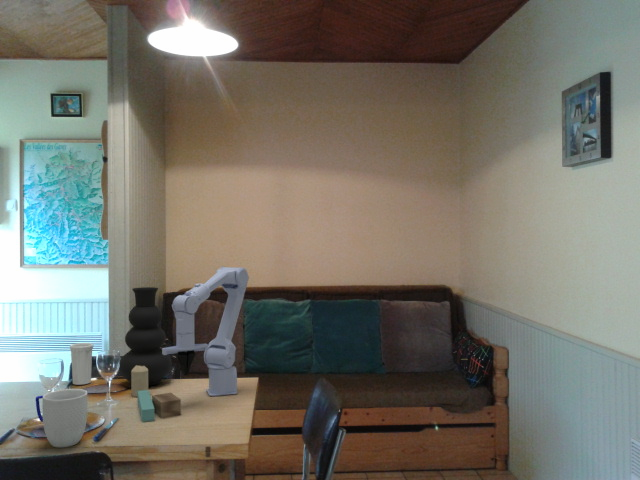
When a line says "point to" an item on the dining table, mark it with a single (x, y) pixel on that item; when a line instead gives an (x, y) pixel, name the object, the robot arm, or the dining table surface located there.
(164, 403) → the block
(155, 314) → the vase
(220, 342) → the robot arm
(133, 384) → the candle
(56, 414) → the mug
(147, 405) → the teal rectangular bar
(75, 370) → the cup
